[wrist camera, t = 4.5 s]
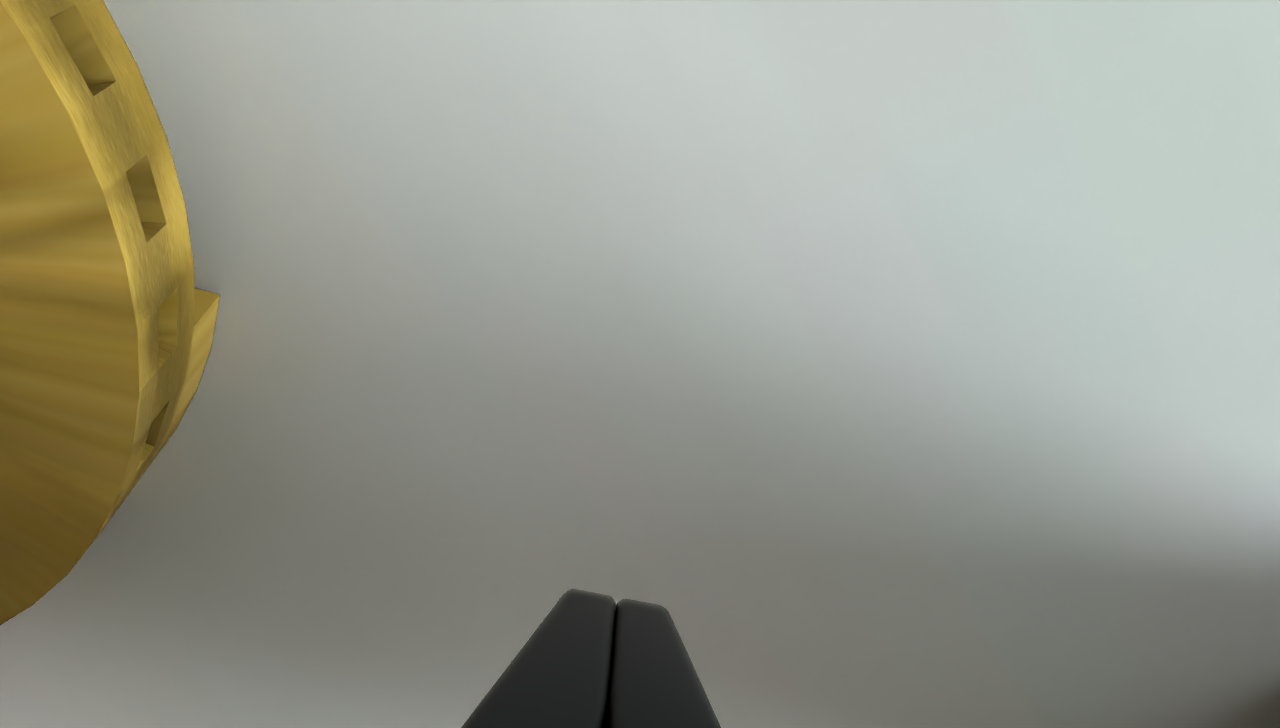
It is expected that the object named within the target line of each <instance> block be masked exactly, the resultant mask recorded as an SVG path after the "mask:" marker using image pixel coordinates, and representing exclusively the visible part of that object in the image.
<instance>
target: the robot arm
mask: <svg viewBox="0 0 1280 728" xmlns="http://www.w3.org/2000/svg"><path fill="white" fill-rule="evenodd" d="M461 728H721V726H720V724H719V722H718V719H717V717H716V715H715V713H714V711H713V708H712V706H711V704H710V702H709V700H708V697H707V695H706V693H705V691H704V689H703V686H702V684H701V682H700V680H699V678H698V675H697V673H696V671H695V669H694V667H693V664H692V662H691V660H690V658H689V656H688V653H687V651H686V649H685V647H684V644H683V642H682V640H681V638H680V636H679V633H678V631H677V629H676V627H675V625H674V622H673V620H672V618H671V616H670V614H669V612H668V611H667V609H666V608H664V607H663V606H661V605H657V604H651V603H646V602H641V601H636V600H630V599H622V600H620V601H619V602H618V603H617V604H615V601H614V599H613V598H612V597H611V596H609V595H604V594H599V593H593V592H588V591H583V590H577V589H571V590H568V591H567V592H566V593H564V594H563V595H562V597H561V598H560V599H559V601H558V602H557V603H556V605H555V606H554V607H553V608H552V610H551V611H550V612H549V614H548V615H547V616H546V618H545V619H544V620H543V621H542V623H541V624H540V625H539V627H538V628H537V629H536V631H535V632H534V633H533V635H532V636H531V637H530V638H529V640H528V641H527V642H526V644H525V645H524V646H523V648H522V649H521V650H520V652H519V653H518V654H517V655H516V657H515V658H514V659H513V661H512V662H511V663H510V665H509V666H508V667H507V668H506V670H505V671H504V672H503V674H502V675H501V676H500V678H499V679H498V680H497V682H496V683H495V684H494V685H493V687H492V688H491V689H490V691H489V692H488V693H487V695H486V696H485V697H484V698H483V700H482V701H481V702H480V704H479V705H478V706H477V708H476V709H475V710H474V712H473V713H472V714H471V715H470V717H469V718H468V719H467V721H466V722H465V723H464V725H463V726H462V727H461Z"/></svg>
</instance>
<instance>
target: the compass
mask: <svg viewBox="0 0 1280 728" xmlns="http://www.w3.org/2000/svg"><path fill="white" fill-rule="evenodd" d="M219 298H220V294H216V293H212V292H208V291H204V290H201V289H197V288H194V263H193V256H192V249H191V242H190V235H189V228H188V221H187V214H186V207H185V203H184V199H183V195H182V192H181V188H180V184H179V181H178V177H177V173H176V170H175V166H174V162H173V159H172V155H171V151H170V148H169V144H168V140H167V137H166V135H165V132H164V130H163V127H162V125H161V122H160V120H159V117H158V115H157V112H156V110H155V107H154V105H153V102H152V100H151V97H150V95H149V92H148V90H147V87H146V85H145V83H144V80H143V78H142V75H141V73H140V70H139V68H138V66H137V64H136V62H135V60H134V58H133V56H132V54H131V52H130V50H129V49H128V47H127V45H126V43H125V41H124V39H123V37H122V35H121V34H120V32H119V30H118V28H117V26H116V24H115V22H114V20H113V18H112V17H111V15H110V13H109V11H108V9H107V7H106V5H105V3H104V1H103V0H0V625H1V624H3V623H5V622H6V621H8V620H9V619H11V618H13V617H14V616H16V615H18V614H19V613H21V612H22V611H24V610H26V609H27V608H29V607H31V606H32V605H33V604H35V603H36V602H37V601H38V600H39V599H40V598H41V597H43V596H44V595H45V594H46V593H47V592H48V591H49V590H51V589H52V588H53V587H54V586H55V585H56V584H57V583H59V582H60V581H61V580H62V579H63V578H64V577H65V576H66V575H67V574H68V573H69V572H70V571H71V569H72V568H73V567H74V565H75V564H76V563H77V562H78V560H79V559H80V558H81V557H82V555H83V554H84V553H85V552H86V550H87V549H88V548H89V546H90V545H91V544H92V543H93V541H94V540H95V539H96V537H97V536H98V535H99V533H100V532H101V531H102V529H103V528H104V527H105V525H106V524H107V523H108V521H109V520H110V518H111V517H112V516H113V514H114V513H115V512H116V510H117V509H118V508H119V506H120V505H121V503H122V502H123V501H124V499H125V498H126V497H127V495H128V494H129V493H130V491H131V490H132V488H133V487H134V486H135V484H136V483H137V482H138V480H139V479H140V478H141V476H142V475H143V473H144V472H145V471H146V469H147V468H148V467H149V465H150V464H151V463H152V461H153V460H154V458H155V457H156V456H157V454H158V453H159V452H160V450H161V449H162V448H163V446H164V445H165V443H166V442H167V441H168V439H169V438H170V437H171V435H172V434H173V433H174V431H175V430H176V428H177V426H178V424H179V422H180V420H181V419H182V417H183V415H184V413H185V411H186V409H187V407H188V406H189V404H190V402H191V400H192V398H193V396H194V394H195V393H196V391H197V388H198V385H199V382H200V379H201V376H202V373H203V370H204V367H205V364H206V361H207V358H208V355H209V352H210V349H211V346H212V341H213V335H214V329H215V323H216V317H217V311H218V304H219Z"/></svg>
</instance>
